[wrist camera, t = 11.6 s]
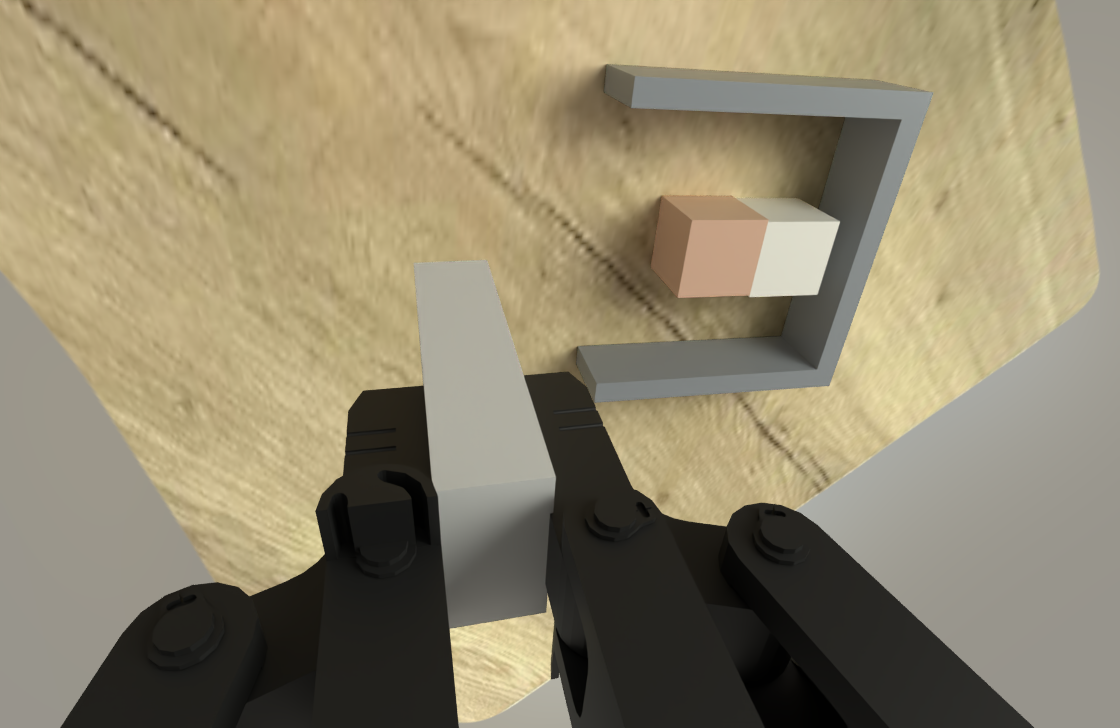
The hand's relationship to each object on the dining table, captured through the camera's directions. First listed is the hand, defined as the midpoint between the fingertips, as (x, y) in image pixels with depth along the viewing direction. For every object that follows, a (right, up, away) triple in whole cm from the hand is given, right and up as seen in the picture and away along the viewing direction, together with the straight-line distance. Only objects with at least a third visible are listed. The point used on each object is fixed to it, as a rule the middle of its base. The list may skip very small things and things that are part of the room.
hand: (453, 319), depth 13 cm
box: (+13, +8, +29) cm, 33 cm away
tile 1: (+11, +8, +29) cm, 32 cm away
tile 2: (+16, +8, +30) cm, 35 cm away
